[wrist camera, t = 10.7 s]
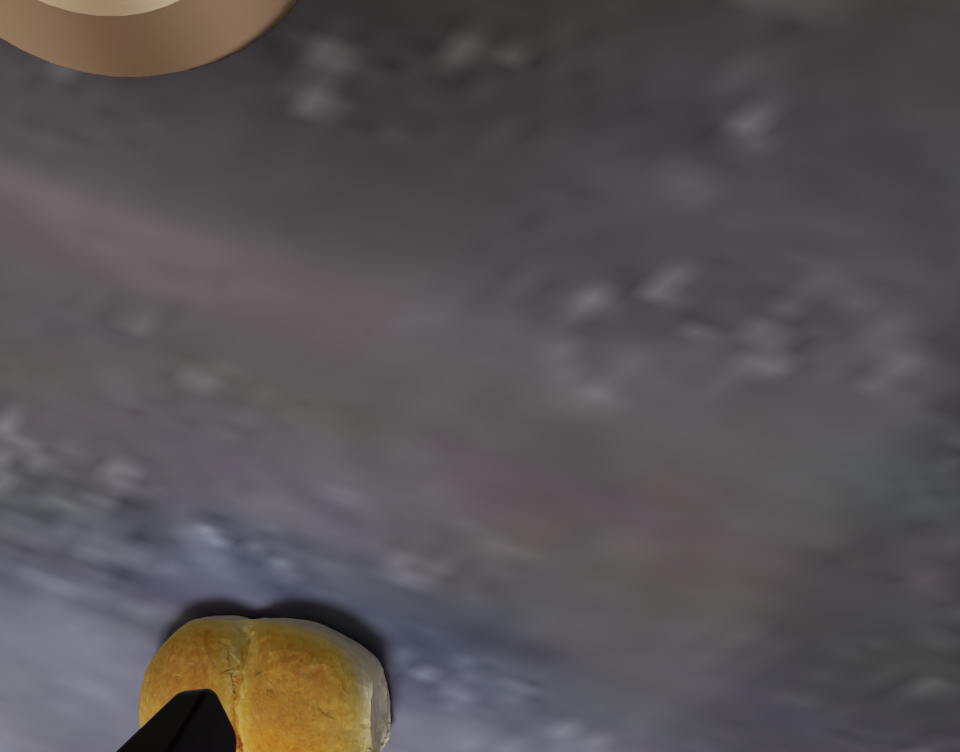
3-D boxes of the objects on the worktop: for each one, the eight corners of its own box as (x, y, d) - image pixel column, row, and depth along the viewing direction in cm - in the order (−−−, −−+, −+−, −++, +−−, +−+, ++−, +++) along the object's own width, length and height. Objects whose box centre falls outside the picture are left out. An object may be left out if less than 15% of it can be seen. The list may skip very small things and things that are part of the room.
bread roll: (137, 601, 27) (76, 691, 24) (379, 604, 26) (354, 697, 23) (188, 755, 31) (142, 853, 27) (402, 761, 30) (384, 863, 26)
